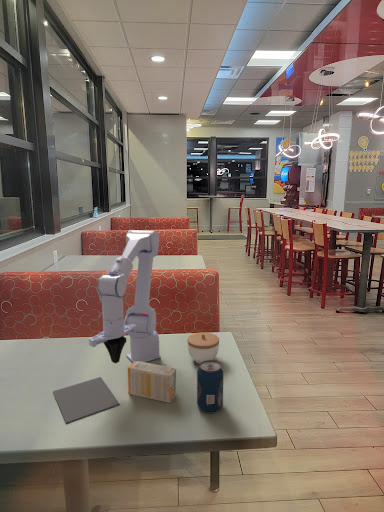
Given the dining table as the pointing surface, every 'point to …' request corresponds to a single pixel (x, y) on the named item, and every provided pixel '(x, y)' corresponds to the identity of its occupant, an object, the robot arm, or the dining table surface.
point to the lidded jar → (203, 346)
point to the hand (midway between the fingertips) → (115, 361)
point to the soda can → (210, 386)
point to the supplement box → (152, 381)
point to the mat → (84, 399)
